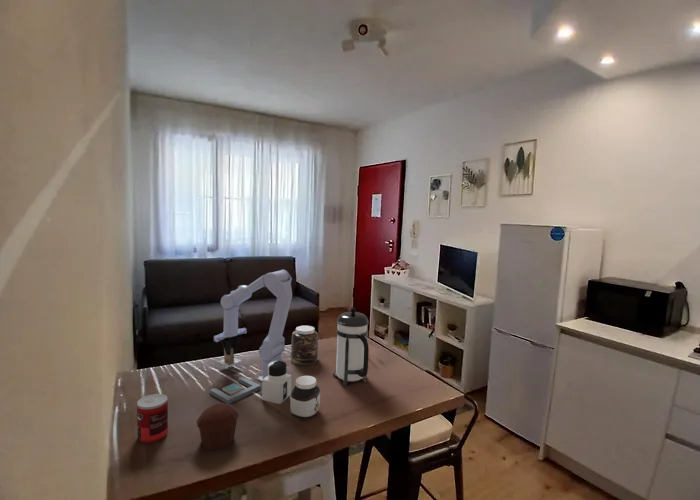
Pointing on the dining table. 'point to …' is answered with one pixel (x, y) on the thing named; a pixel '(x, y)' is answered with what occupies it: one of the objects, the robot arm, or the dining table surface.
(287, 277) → the robot arm
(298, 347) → the jar
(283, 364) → the container
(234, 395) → the tile frame
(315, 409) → the spread jar
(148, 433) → the canned food
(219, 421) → the muffin
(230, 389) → the tile
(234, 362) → the trowel
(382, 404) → the dining table surface
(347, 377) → the coffee press
